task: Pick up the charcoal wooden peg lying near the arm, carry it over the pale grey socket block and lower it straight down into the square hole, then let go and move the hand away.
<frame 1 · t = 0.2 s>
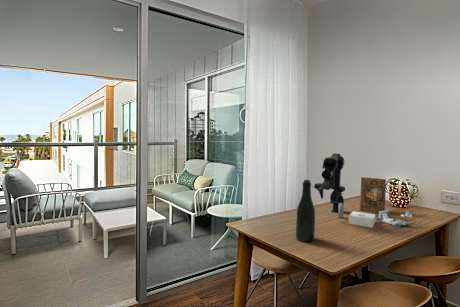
hand: (328, 200, 187), 14 cm above the table, tool pointing down, fingers open, 9 cm apart
socket block: (362, 222, 185), on the table
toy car: (394, 224, 184), on the table
beer bottle: (304, 239, 156), on the table
book: (371, 212, 212), on the table
peg: (340, 217, 195), on the table
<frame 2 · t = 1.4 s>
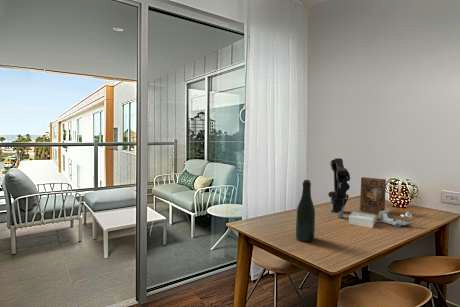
hand: (340, 210, 195), 5 cm above the table, tool pointing down, fingers open, 9 cm apart
nothing on the table moved.
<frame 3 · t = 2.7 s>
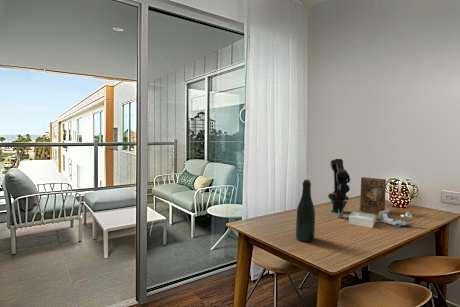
hand: (340, 212, 195), 4 cm above the table, tool pointing down, fingers closed on peg, 3 cm apart
peg: (340, 217, 195), on the table, touching gripper
everything else where it was.
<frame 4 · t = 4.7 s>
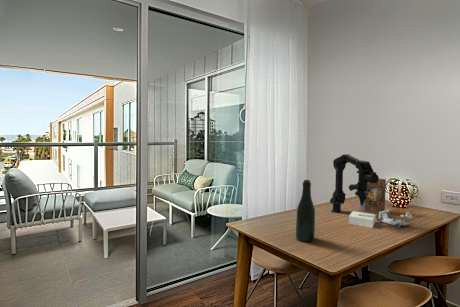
hand: (362, 204, 184), 12 cm above the table, tool pointing down, fingers closed on peg, 3 cm apart
peg: (361, 210, 185), point 8 cm above the table, touching gripper
everything else where it was.
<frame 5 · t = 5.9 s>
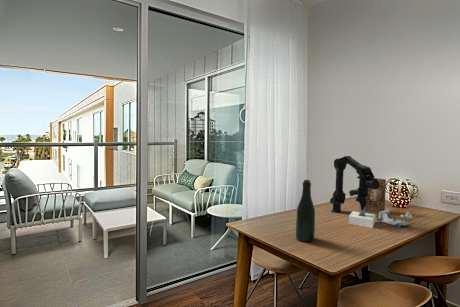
hand: (362, 209, 184), 9 cm above the table, tool pointing down, fingers closed on peg, 3 cm apart
peg: (362, 215, 185), point 5 cm above the table, touching gripper
everything else where it was.
when the fingers open (7 cm above the table, at t = 6.8 s): peg drops 2 cm, resting on socket block.
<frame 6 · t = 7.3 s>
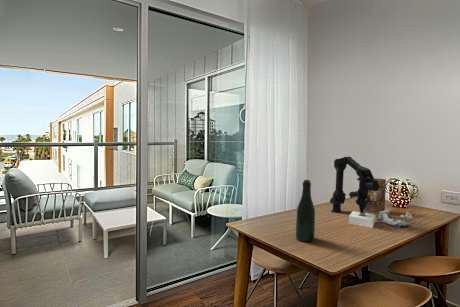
hand: (362, 211, 184), 7 cm above the table, tool pointing down, fingers open, 9 cm apart
peg: (362, 221, 185), point 1 cm above the table, touching socket block
everything else where it was.
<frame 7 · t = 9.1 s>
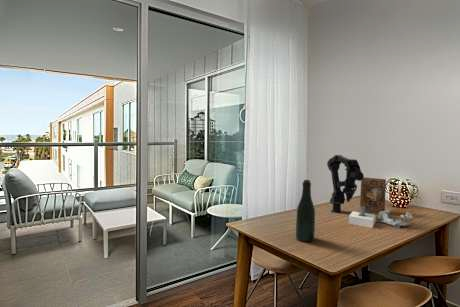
hand: (349, 200, 193), 13 cm above the table, tool pointing down, fingers open, 9 cm apart
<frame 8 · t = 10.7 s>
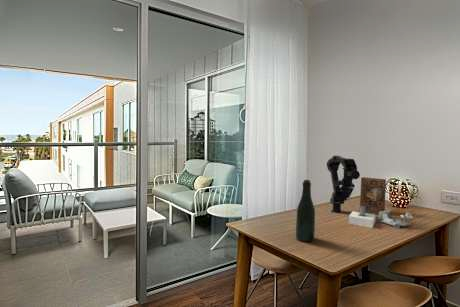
hand: (346, 199, 195), 13 cm above the table, tool pointing down, fingers open, 9 cm apart
at the end: peg 0.1 cm off-centre on the socket block, point 1.0 cm above the socket block's base; peg tilted 1°; the gripper is holding nothing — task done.
